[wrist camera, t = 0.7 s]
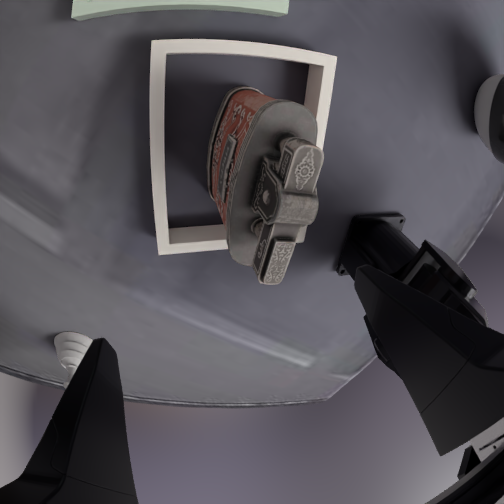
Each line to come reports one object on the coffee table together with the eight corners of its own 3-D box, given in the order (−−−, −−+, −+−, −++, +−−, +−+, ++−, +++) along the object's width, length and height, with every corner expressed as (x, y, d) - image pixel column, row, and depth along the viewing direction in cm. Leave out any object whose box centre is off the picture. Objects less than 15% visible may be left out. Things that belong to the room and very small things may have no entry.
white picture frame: (321, 55, 16) (337, 56, 14) (293, 228, 24) (303, 242, 22) (153, 43, 13) (151, 40, 11) (158, 238, 21) (158, 255, 19)
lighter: (220, 81, 15) (279, 102, 8) (272, 91, 17) (367, 128, 9) (199, 198, 20) (229, 304, 12) (246, 201, 21) (300, 300, 13)
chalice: (36, 345, 24) (26, 507, 10) (58, 315, 22) (45, 511, 8) (91, 371, 28) (99, 521, 14) (119, 346, 27) (136, 523, 13)
